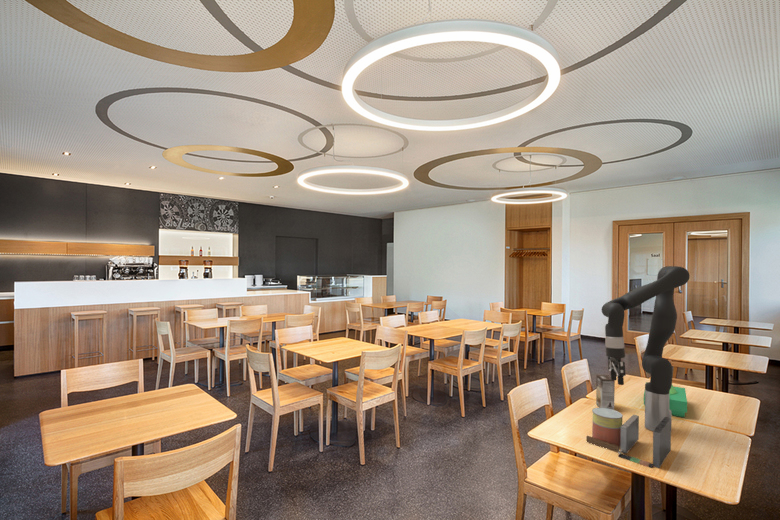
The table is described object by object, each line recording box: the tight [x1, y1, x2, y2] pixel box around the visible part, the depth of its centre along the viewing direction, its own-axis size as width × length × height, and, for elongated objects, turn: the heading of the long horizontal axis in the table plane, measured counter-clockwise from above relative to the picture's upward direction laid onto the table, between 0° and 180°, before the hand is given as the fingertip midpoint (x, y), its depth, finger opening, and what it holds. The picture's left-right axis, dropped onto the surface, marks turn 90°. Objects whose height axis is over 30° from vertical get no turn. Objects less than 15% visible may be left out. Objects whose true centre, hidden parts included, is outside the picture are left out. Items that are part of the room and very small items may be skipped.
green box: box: [643, 381, 688, 418], centre depth 200 cm, size 18×12×35 cm
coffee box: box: [595, 374, 616, 410], centre depth 201 cm, size 9×6×16 cm
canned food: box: [591, 407, 624, 448], centre depth 163 cm, size 11×11×12 cm
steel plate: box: [617, 414, 640, 455], centre depth 156 cm, size 2×21×10 cm, turn 134°
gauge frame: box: [586, 417, 672, 469], centre depth 157 cm, size 26×22×13 cm
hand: (617, 382), depth 174 cm, fingers open, 8 cm apart
